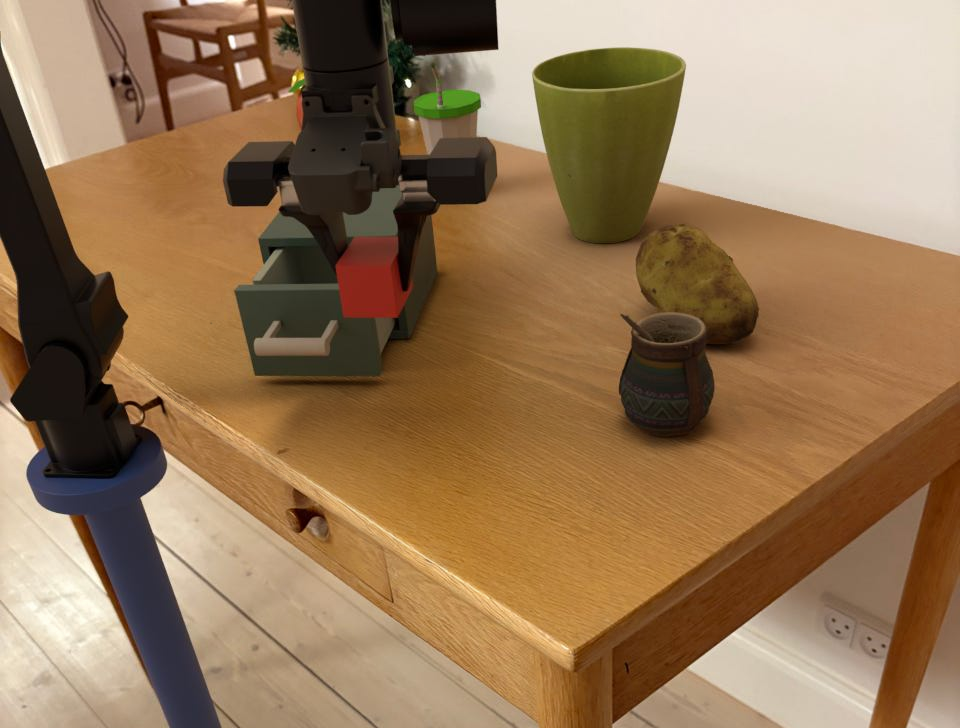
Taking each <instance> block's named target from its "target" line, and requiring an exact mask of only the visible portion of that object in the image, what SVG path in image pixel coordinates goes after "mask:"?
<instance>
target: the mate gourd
mask: <svg viewBox="0 0 960 728" xmlns="http://www.w3.org/2000/svg"><path fill="white" fill-rule="evenodd" d="M619 316H620V317H621V318H622V319H623V320H624V321H625V323H627V324H628V325H629V326H630V327H631V331H630V335H631V340H630V342H631V343H630V345H631V347H630V349H629V352H628V354H627V357H626V359H625V363H624V364H623V365H624V366H623V368H622V370H621V373H620V377H619V382H618V394H619V396H620V402H621V404H622V407H623V408H624V415H625V417H626V418H627V420H628V421H629V422H630V423H631V424H632V425H633V426H634V427H636V428H638V429H639V430H640V431H642V432H643V433H645V434H648V435H652V436H656V437H674V436H681V435H683V436H686V434H687V435H689V434H690V433H691V432H692V431H695V429H696V428H698V426H699V425H700V423H701V422H702V421H703V420H704V419H705V418H706V417H707V415H708V414H709V411H710V407H711V405H712V403H713V399H714V395H715V389H716V388H715V387H716V386H715V385H716V384H715V377H714V370H713V369H712V367H711V364H710V361H709V359H708V357H707V354H706V345H707V344H706V334H707V327H706V325H705V323H704V322H703V321H702V320H701V319H699V318H697V317H695V316H692V315H689V314H684V313H677V312H664V313H659V312H658V313H653V314H650V315H647V316H645V317H643V318H641V319H640V320H638V321H637V322H635V321H634V320H633V319H631V317H630V315H625V314H623V313H619Z"/></svg>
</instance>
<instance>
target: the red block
mask: <svg viewBox="0 0 960 728" xmlns="http://www.w3.org/2000/svg"><path fill="white" fill-rule="evenodd" d="M336 273H337V279H338V285H339V291H340V297H341V303H342V309H343V315H344V317H356V318H398V316H399V314H400V312H401V310H402V308H403V306H404V304H405V302H406V300H407V298H408V296H409V294H410V292H411V290H412V288H413V282H412V279H411V283H410V287H409V289H408V291H402V285H401V280H400V274H399V257H398V237H354V238H353V240H352V241H351V243H350V244H349V246H348V247H347V249H346V250H345V252H344V254H343V255H342V257H341V258H340V260H339V261H338V263H337V264H336Z"/></svg>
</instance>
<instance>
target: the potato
mask: <svg viewBox="0 0 960 728" xmlns="http://www.w3.org/2000/svg"><path fill="white" fill-rule="evenodd" d="M635 275H636V278H637V281H638V285H639V288H640V293H641V294H642V296H643V297H644V298H645V300H646V301H647V302H648V303H649V304H650V305H652V306H653V307H654V308H656V310H657V311H658V313H664V312H677V313H684V314H689V315H692V316H695V317H697V318H699V319H701V320H702V321H703V322H704V323H705V325H706V327H707V334H706V345H707V344H708V345H732V344H734V343H737V342H740V341H742V340H744V339H746V338H747V337H749V336H750V335H751V334H753V332H754V331H755V328H756V325H757V321H758V318H759V315H760V314H759V311H760V307H759V303H758V300H757V297H756V295H755V293H754V291H753V290H752V288H751V287H750V285H749V283H748V282H747V279H745V277H744V276H743V275H742V273H741V272H740V270H739V269H738V268H737V266H736V264H735V263H734V259H733V257H732V256H730V255H728V253H727V252H726V251H725V250H724V249H723V248H721V246H719V245H718V244H716V243H715V242H713V241H712V240H711V238H709V236H708V234H706V233H705V232H703V231H702V230H701V229H699V228H698V227H695V226H692V225H688V224H685V223H672V224H666V225H664V226H662V227H660V228H657V229H656V230H654V231H652V232H650V233H649V234H647V236H645V237H644V238H643V240H642V241H641V243H640V245H639V247H638V250H637V254H636V256H635Z"/></svg>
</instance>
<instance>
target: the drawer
mask: <svg viewBox="0 0 960 728" xmlns="http://www.w3.org/2000/svg"><path fill="white" fill-rule="evenodd" d="M348 246H349V245H348ZM251 282H252V284H238V285H237V286H236V287H235V288H234V290H233V292H234V296H235V299H236V303H237V308H238V312H239V316H240V321H241V324H242V329H243V333H244V337H245V341H246V346H247V349H248V354H249V356H250V361H251V366H252V369H253V375H254V376H256V377H381V375H382V373H383V371H384V367H383V361H382V352H383V351H384V349H385V346H386V344H387V342H388V340H389V339H388V338H389V336H390V334H391V331H392V329H393V327H394V325H395V323H396V321H397V319H398V318H356V317H344V315H343V309H342V303H341V297H340V291H339V285H338V279H337V277H336V275H335V273H334V271H333V269H332V267H331V266H330V264H329V262H328V260H327V258H326V256H325V255H324V252H323V251H322V249H321V248H320V246H289V247H277V248H276V249H275V251H274V252H273V253H272V255H271V256H270V257H269V259H268V260H267V261H266V263H265V264H263V266H261V268H260V269H259V271H258V272H257V273H256V274H255V276H254V277H253V279H252V281H251Z"/></svg>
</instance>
